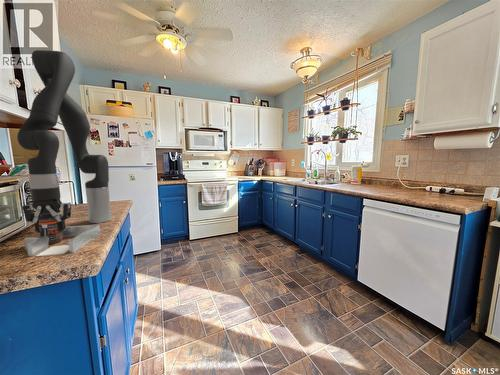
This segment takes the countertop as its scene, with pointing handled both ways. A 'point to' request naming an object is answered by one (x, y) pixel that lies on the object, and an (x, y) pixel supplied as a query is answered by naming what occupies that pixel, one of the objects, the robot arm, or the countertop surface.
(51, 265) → the countertop surface
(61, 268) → the countertop surface
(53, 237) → the supplement bottle
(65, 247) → the pad
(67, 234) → the grey angled wall frame
